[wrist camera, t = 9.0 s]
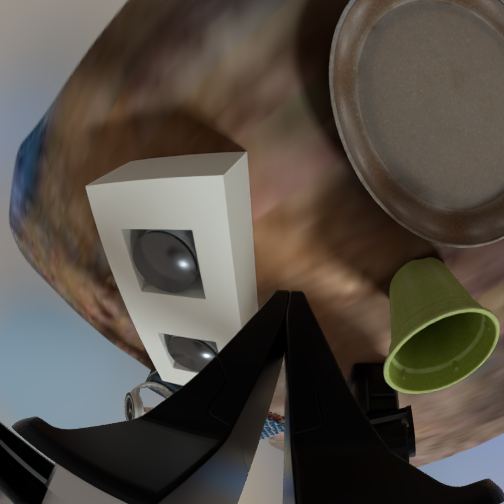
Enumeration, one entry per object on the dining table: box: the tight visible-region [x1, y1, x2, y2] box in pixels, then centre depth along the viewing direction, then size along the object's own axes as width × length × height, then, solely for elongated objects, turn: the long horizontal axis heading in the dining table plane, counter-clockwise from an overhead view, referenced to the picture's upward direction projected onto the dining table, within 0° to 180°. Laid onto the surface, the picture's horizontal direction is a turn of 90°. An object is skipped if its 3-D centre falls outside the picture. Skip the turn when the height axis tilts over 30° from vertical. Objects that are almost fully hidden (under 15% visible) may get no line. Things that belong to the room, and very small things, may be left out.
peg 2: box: [167, 335, 218, 372], centre depth 26 cm, size 5×5×6 cm
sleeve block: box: [85, 152, 258, 386], centre depth 24 cm, size 22×10×6 cm, turn 3°
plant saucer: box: [329, 0, 504, 248], centre depth 13 cm, size 21×21×3 cm
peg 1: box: [133, 229, 200, 292], centre depth 21 cm, size 5×5×6 cm
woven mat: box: [260, 412, 284, 439], centre depth 41 cm, size 10×11×2 cm
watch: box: [125, 367, 183, 421], centre depth 33 cm, size 6×8×11 cm
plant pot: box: [384, 257, 499, 394], centre depth 19 cm, size 9×9×9 cm
